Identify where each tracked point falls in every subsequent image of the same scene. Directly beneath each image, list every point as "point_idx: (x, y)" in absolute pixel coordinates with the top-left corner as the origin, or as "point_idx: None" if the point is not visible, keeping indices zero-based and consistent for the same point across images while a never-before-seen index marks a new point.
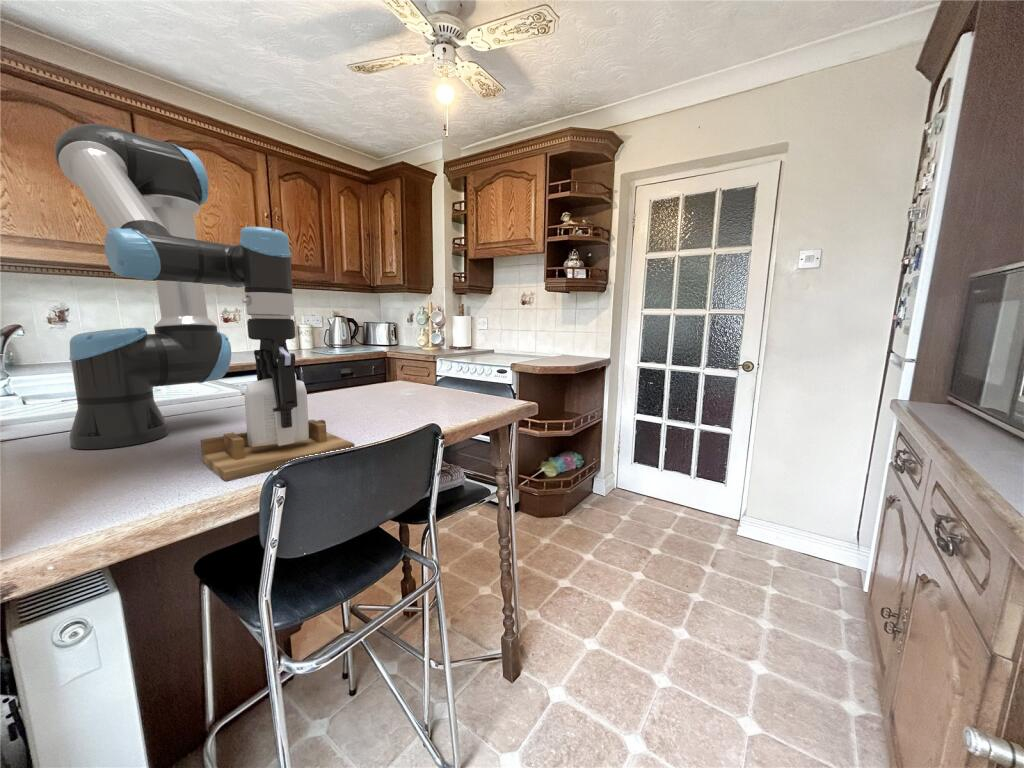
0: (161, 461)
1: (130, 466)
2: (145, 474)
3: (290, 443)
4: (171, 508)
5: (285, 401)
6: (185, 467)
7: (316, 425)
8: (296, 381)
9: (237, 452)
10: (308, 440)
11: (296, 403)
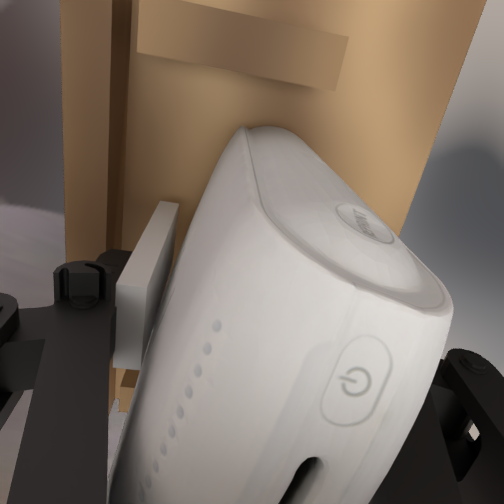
0: (8, 427)
1: (5, 470)
2: (109, 466)
3: None
4: None
5: (478, 449)
6: (122, 412)
7: (305, 84)
8: (412, 415)
9: None
10: (231, 93)
11: (497, 377)
